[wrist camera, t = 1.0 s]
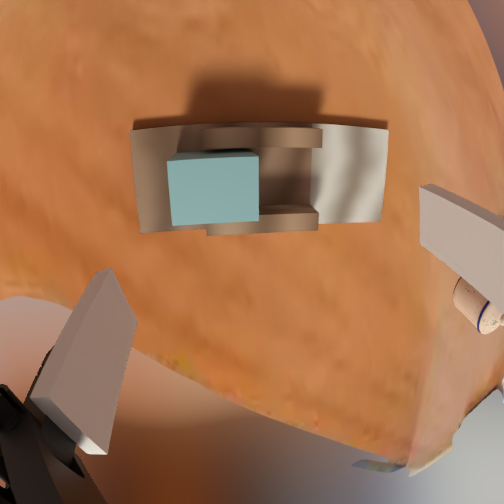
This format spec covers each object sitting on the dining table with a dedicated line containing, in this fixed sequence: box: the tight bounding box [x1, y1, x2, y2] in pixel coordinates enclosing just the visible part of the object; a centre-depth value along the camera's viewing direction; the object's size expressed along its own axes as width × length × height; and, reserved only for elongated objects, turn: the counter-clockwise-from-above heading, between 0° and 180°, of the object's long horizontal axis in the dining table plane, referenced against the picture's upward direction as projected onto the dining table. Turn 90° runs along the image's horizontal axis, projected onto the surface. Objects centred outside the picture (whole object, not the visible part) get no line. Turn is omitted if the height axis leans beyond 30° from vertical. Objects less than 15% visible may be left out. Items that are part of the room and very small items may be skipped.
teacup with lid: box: [453, 277, 504, 334], centre depth 41 cm, size 12×9×12 cm
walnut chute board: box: [130, 122, 389, 236], centre depth 33 cm, size 30×12×4 cm, turn 90°
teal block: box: [167, 149, 259, 226], centre depth 30 cm, size 8×6×6 cm
